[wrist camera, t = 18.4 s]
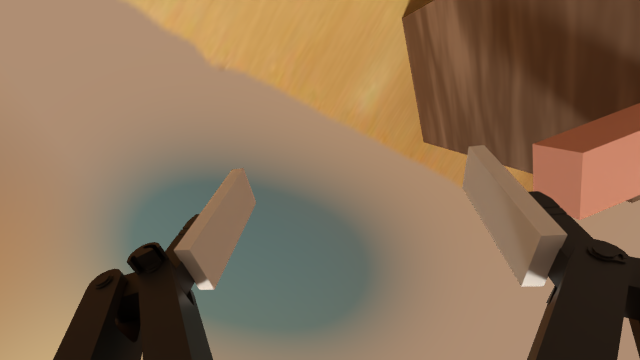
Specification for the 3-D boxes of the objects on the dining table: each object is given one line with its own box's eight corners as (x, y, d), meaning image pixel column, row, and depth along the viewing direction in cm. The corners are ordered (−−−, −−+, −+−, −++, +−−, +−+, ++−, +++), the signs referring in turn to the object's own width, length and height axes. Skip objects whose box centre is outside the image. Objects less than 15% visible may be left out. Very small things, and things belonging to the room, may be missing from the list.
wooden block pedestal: (423, 142, 49) (632, 202, 21) (401, 18, 42) (674, -137, 14) (489, 117, 50) (770, 144, 22) (479, -7, 43) (874, -198, 15)
